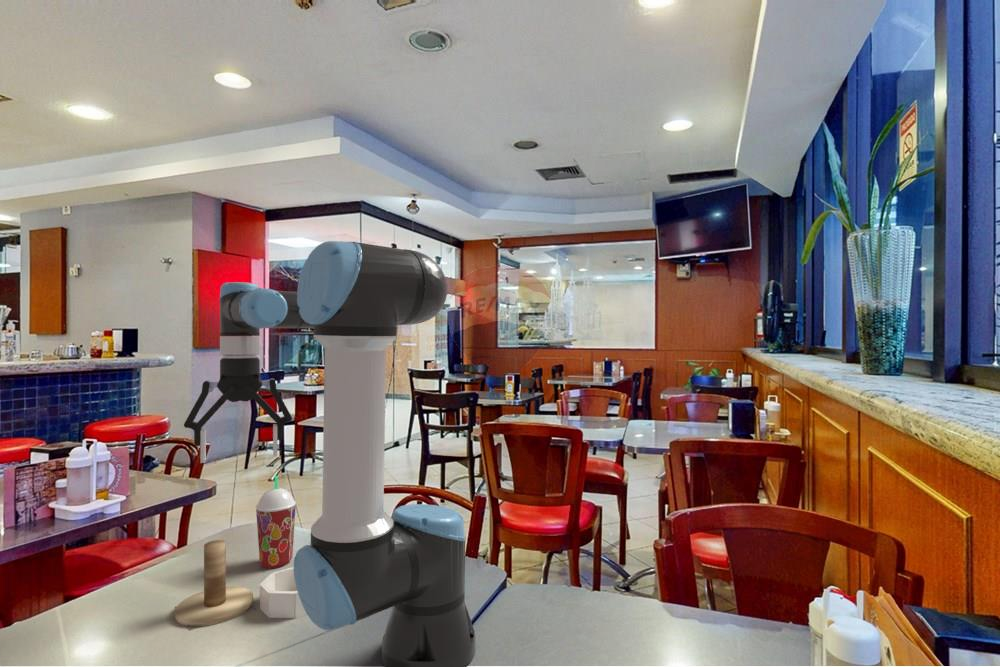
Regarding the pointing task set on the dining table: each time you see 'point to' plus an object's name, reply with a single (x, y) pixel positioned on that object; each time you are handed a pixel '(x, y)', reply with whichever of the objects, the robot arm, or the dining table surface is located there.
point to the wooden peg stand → (214, 593)
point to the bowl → (281, 595)
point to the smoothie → (275, 527)
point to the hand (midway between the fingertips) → (240, 458)
